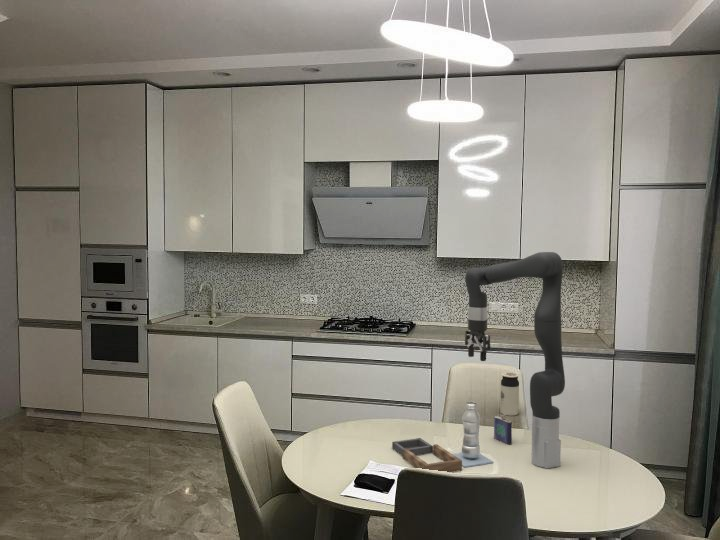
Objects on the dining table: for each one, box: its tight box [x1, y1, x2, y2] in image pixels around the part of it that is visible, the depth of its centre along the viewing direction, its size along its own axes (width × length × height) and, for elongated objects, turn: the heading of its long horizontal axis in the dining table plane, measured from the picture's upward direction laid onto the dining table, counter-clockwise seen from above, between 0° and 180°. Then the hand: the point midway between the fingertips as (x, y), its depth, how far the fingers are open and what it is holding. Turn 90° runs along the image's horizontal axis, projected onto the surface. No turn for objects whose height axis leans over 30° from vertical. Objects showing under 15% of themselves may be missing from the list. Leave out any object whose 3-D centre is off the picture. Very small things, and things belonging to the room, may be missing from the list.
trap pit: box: [391, 437, 433, 457], centre depth 230 cm, size 10×12×2 cm
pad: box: [452, 451, 494, 469], centre depth 221 cm, size 12×12×1 cm
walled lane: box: [402, 443, 463, 473], centre depth 216 cm, size 18×14×4 cm
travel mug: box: [500, 372, 520, 417], centre depth 277 cm, size 8×8×18 cm
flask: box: [493, 414, 513, 446], centre depth 240 cm, size 9×3×11 cm, turn 28°
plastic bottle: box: [461, 401, 482, 459], centre depth 221 cm, size 6×7×20 cm
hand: (477, 358), depth 242 cm, fingers open, 8 cm apart
